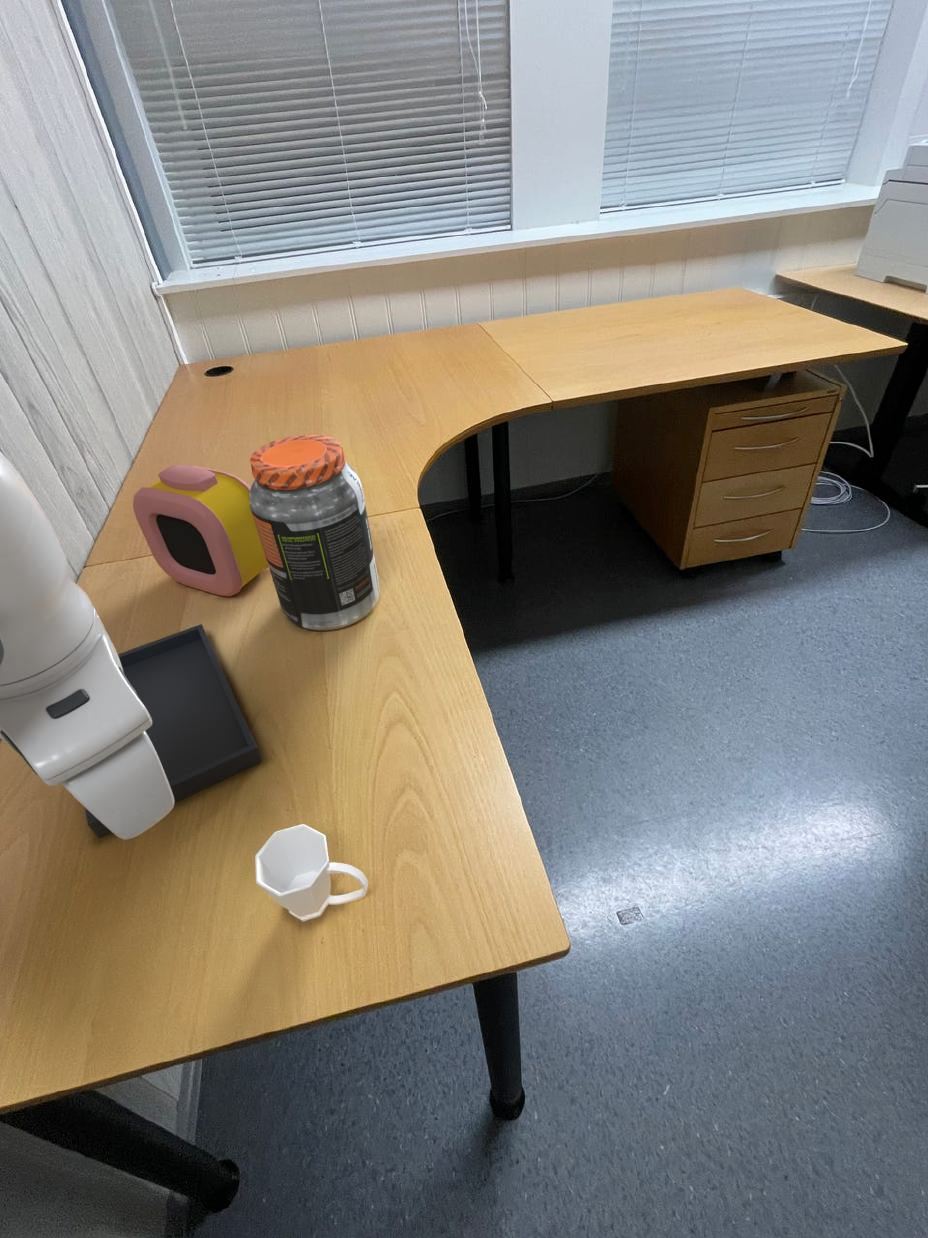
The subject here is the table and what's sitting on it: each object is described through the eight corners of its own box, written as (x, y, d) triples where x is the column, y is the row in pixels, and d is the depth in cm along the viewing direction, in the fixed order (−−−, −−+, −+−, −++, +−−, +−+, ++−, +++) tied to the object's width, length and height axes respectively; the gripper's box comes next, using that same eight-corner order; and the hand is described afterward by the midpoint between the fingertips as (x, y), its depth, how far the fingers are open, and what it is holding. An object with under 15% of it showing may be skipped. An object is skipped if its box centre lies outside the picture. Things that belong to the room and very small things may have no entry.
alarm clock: (160, 581, 104) (113, 479, 91) (206, 548, 111) (168, 449, 99) (244, 607, 97) (206, 500, 85) (286, 570, 105) (257, 467, 92)
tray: (263, 761, 73) (256, 747, 72) (98, 838, 66) (87, 825, 64) (207, 637, 92) (201, 623, 90) (74, 687, 85) (64, 673, 83)
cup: (287, 863, 63) (268, 821, 58) (380, 870, 62) (369, 828, 57) (263, 932, 58) (240, 893, 53) (365, 941, 57) (351, 902, 52)
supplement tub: (393, 579, 101) (372, 431, 85) (361, 641, 90) (329, 483, 73) (307, 570, 104) (270, 425, 88) (264, 629, 93) (213, 474, 76)
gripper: (-78, 603, 41) (14, 719, 51) (51, 795, 33) (132, 891, 42) (21, 563, 45) (90, 679, 55) (161, 726, 36) (213, 830, 46)
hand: (109, 773), depth 48 cm, fingers open, 8 cm apart
